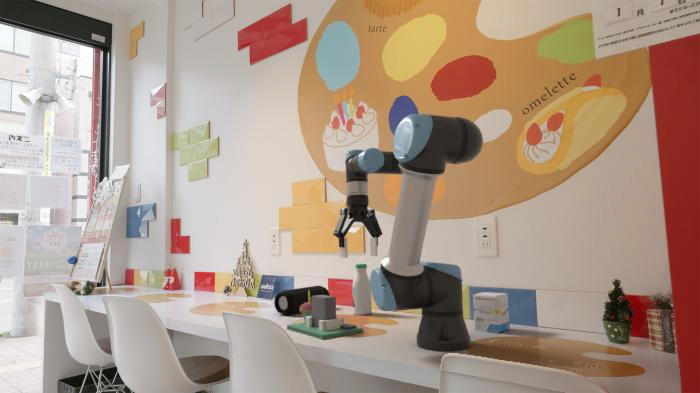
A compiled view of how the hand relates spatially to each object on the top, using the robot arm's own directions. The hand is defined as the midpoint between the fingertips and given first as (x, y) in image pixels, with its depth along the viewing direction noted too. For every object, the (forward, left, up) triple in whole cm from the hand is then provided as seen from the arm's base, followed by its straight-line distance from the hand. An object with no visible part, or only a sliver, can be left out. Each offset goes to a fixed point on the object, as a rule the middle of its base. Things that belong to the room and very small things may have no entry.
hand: (359, 257), depth 153 cm
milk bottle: (+25, -20, -24) cm, 40 cm away
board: (+8, +10, -24) cm, 27 cm away
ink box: (-29, -31, -24) cm, 49 cm away
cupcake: (+26, +4, -24) cm, 36 cm away
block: (+8, +10, -23) cm, 26 cm away
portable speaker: (+47, -6, -25) cm, 54 cm away
